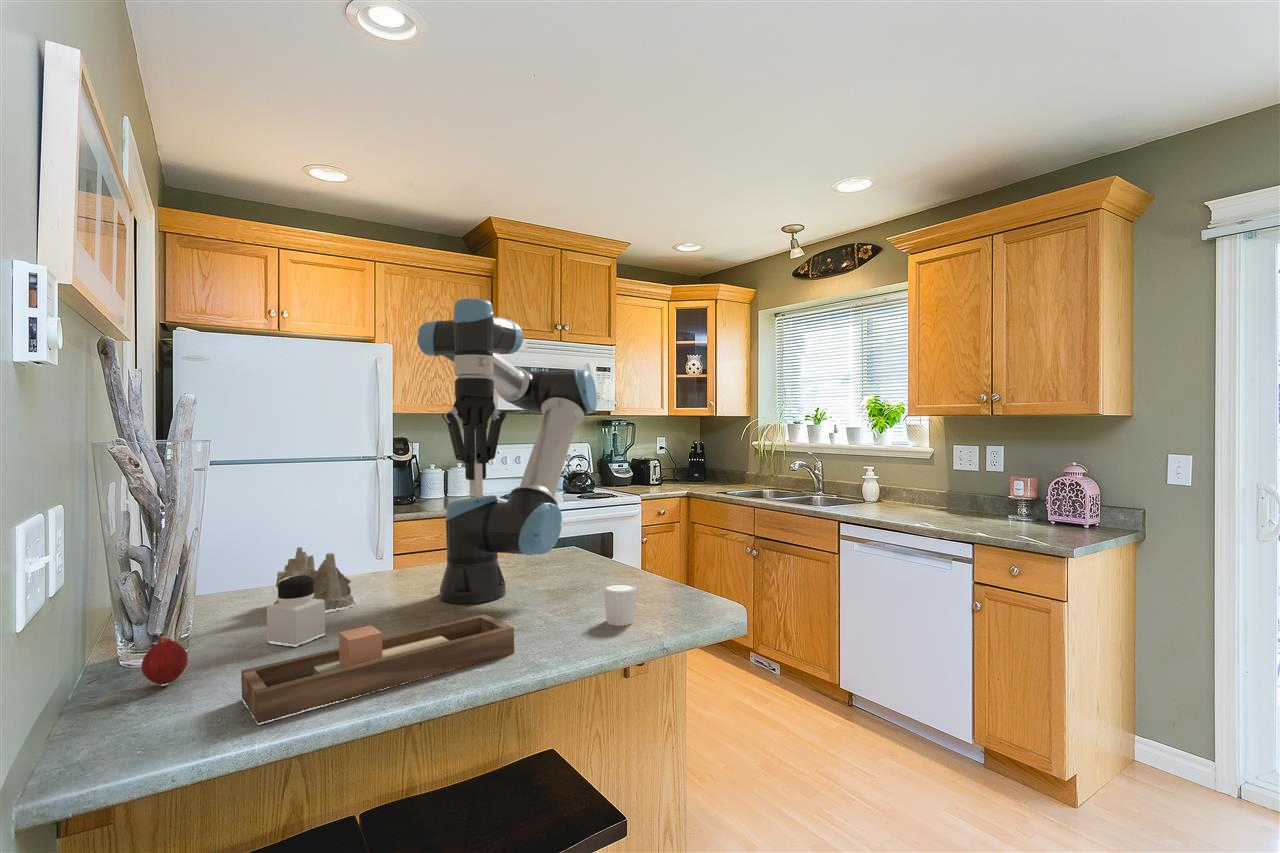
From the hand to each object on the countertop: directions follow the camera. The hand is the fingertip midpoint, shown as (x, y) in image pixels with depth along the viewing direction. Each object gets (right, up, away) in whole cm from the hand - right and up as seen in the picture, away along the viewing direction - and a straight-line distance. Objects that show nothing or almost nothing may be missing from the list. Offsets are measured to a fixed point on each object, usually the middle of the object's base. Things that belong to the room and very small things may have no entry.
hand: (476, 495), depth 129 cm
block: (-12, -24, -26) cm, 37 cm away
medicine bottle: (-33, -27, -6) cm, 43 cm away
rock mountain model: (-41, -27, +16) cm, 51 cm away
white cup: (+29, -26, +3) cm, 39 cm away
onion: (-42, -28, -27) cm, 57 cm away
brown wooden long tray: (-8, -27, -23) cm, 36 cm away
